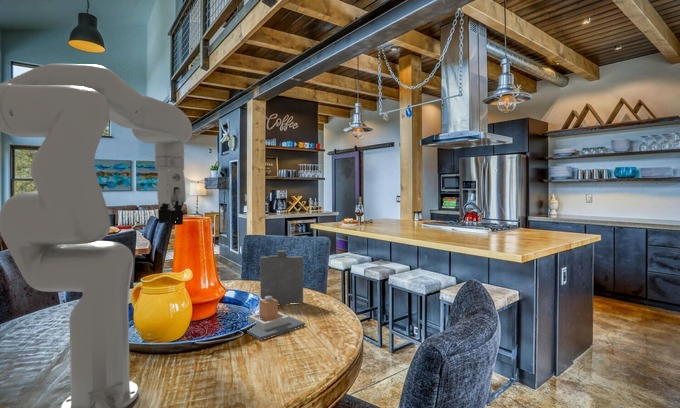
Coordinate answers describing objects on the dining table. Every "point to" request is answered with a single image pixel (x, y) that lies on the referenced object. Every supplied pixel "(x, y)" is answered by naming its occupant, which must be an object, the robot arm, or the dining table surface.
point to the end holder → (272, 325)
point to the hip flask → (282, 277)
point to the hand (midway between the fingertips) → (170, 223)
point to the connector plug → (268, 308)
